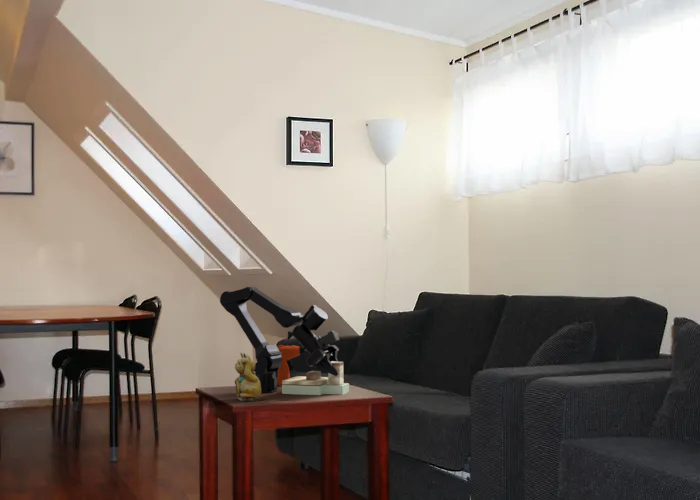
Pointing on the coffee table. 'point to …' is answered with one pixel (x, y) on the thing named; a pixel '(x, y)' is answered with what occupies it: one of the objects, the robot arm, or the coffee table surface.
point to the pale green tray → (315, 389)
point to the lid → (307, 379)
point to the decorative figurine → (246, 379)
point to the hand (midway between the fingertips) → (340, 374)
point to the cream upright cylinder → (340, 377)
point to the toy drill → (286, 366)
